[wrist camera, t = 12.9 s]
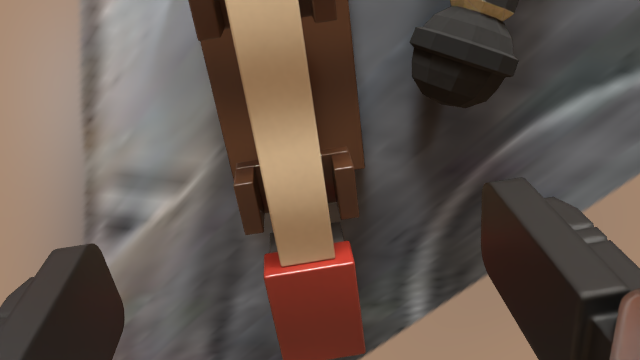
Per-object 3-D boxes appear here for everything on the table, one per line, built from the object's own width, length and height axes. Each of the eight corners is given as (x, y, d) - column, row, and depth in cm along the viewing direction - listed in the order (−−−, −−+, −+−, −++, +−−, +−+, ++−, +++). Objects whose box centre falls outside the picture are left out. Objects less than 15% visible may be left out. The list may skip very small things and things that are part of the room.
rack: (182, -48, 26) (129, -27, 16) (338, -71, 26) (379, -65, 16) (236, 180, 32) (221, 294, 22) (362, 160, 32) (401, 265, 22)
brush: (175, -175, 15) (152, -197, 12) (290, -192, 16) (295, -218, 13) (282, 313, 25) (284, 367, 22) (354, 301, 25) (366, 354, 22)
